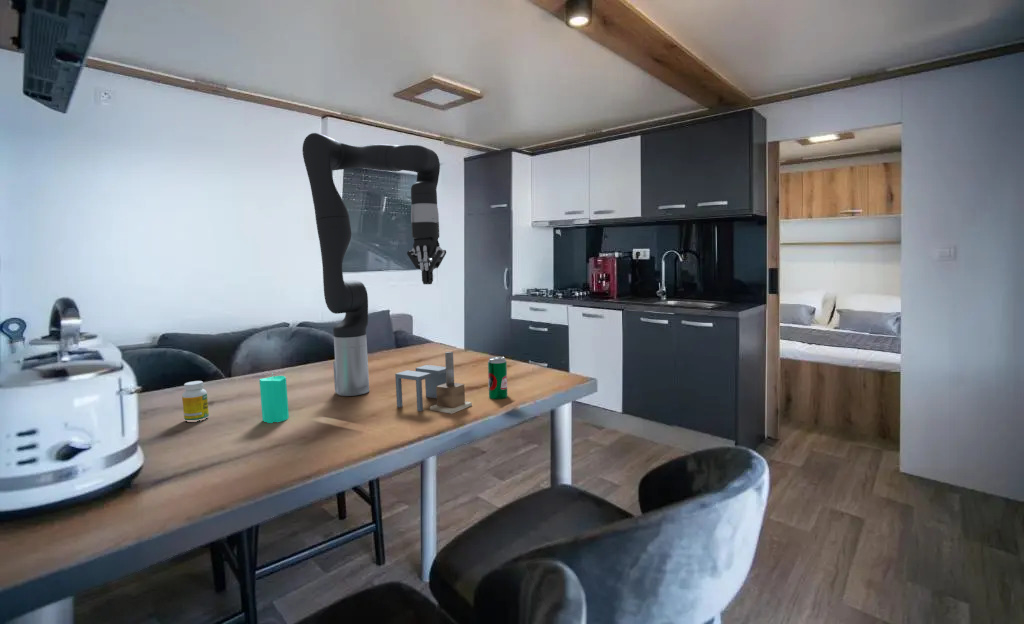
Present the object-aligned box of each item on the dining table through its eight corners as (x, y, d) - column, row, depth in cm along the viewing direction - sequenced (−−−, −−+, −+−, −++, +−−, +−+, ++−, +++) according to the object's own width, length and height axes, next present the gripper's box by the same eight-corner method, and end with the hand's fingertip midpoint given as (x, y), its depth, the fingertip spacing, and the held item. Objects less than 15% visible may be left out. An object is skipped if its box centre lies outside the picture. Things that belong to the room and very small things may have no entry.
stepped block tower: (430, 409, 128) (427, 354, 126) (450, 401, 135) (448, 348, 133) (452, 413, 124) (449, 356, 123) (471, 405, 131) (469, 350, 129)
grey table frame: (364, 407, 137) (362, 370, 135) (402, 394, 148) (400, 360, 147) (442, 422, 122) (440, 381, 121) (477, 407, 134) (475, 369, 133)
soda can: (505, 404, 136) (504, 360, 134) (487, 403, 137) (485, 359, 135) (509, 399, 141) (508, 356, 139) (491, 398, 142) (490, 356, 140)
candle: (262, 424, 124) (259, 376, 123) (262, 418, 129) (258, 371, 128) (289, 420, 127) (286, 373, 125) (288, 414, 132) (284, 368, 131)
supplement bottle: (185, 418, 130) (182, 381, 129) (210, 415, 133) (206, 379, 132) (183, 424, 125) (179, 386, 124) (208, 421, 128) (204, 383, 127)
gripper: (397, 222, 141) (400, 284, 143) (434, 219, 134) (437, 285, 136) (416, 223, 147) (419, 283, 149) (452, 220, 140) (454, 283, 142)
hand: (427, 284), depth 143 cm, fingers closed
